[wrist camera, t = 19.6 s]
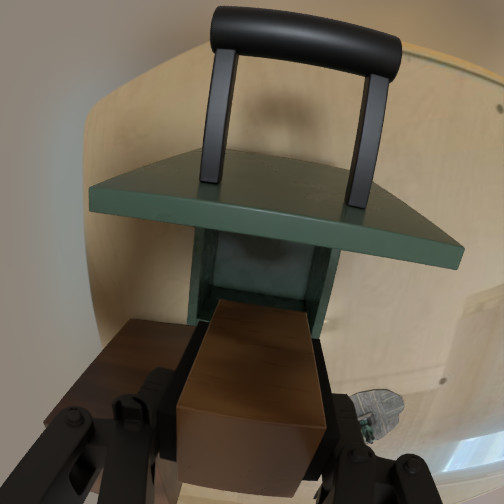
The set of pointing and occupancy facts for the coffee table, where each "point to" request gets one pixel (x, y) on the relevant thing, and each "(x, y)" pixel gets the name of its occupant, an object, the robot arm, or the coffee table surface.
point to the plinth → (130, 383)
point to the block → (251, 403)
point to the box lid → (284, 169)
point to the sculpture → (377, 413)
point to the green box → (260, 275)
